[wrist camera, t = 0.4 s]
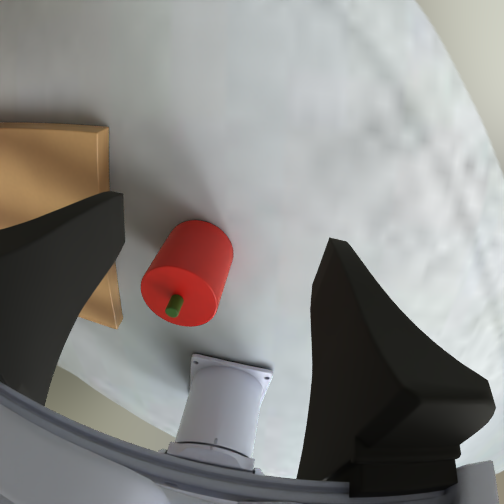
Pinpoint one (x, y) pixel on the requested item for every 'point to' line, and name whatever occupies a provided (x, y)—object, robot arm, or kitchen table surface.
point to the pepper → (188, 274)
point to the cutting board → (57, 186)
